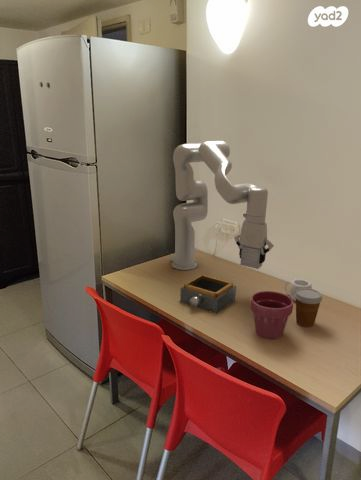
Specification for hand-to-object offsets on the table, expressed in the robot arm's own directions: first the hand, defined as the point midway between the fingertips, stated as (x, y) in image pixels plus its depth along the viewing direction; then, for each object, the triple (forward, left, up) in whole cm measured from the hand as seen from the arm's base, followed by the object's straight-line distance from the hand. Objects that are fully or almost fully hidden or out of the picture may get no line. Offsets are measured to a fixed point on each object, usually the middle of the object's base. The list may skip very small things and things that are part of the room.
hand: (251, 259), depth 160 cm
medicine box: (0, 0, -3) cm, 3 cm away
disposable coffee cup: (+27, -8, -16) cm, 32 cm away
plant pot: (+19, -22, -16) cm, 33 cm away
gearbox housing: (-11, -16, -16) cm, 25 cm away
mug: (+17, +10, -16) cm, 25 cm away
